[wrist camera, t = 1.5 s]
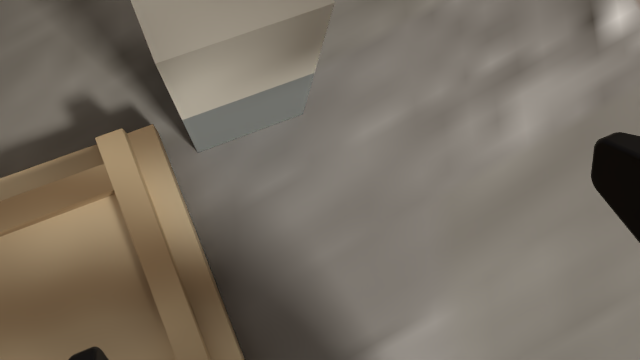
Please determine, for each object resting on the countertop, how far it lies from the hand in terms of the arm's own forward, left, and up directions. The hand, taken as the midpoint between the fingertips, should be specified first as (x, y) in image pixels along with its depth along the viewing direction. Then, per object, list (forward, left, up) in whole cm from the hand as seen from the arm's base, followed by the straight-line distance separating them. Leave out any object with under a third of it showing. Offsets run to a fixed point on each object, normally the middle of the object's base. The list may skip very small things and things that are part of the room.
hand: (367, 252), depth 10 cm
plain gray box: (+7, +4, -13) cm, 16 cm away
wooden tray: (-3, +8, -13) cm, 16 cm away
